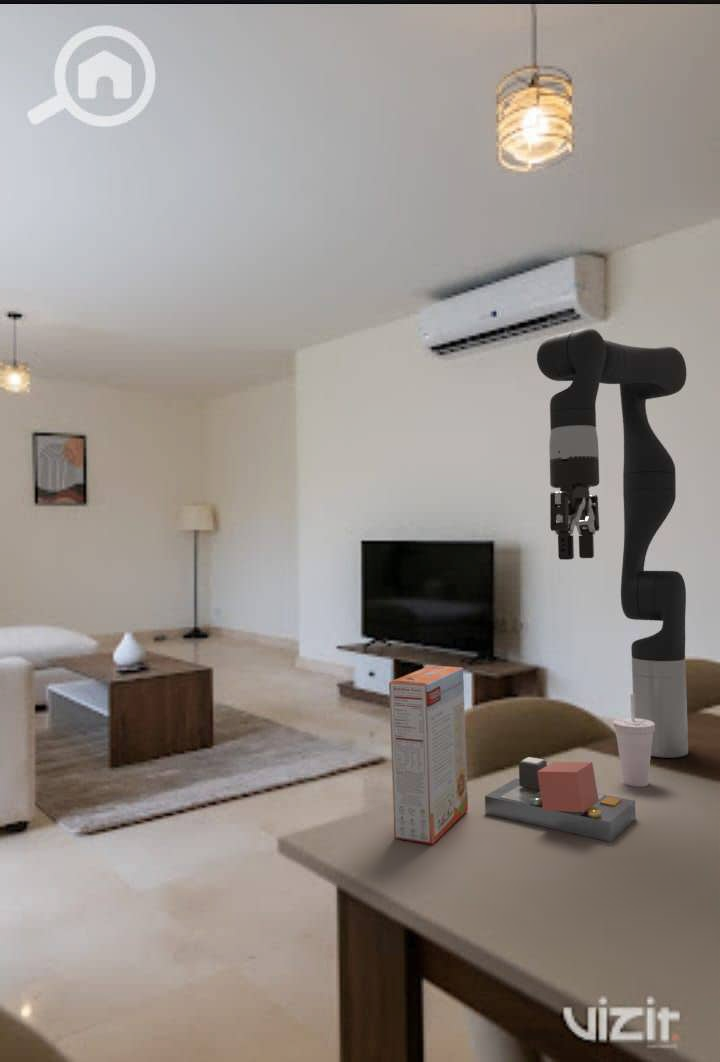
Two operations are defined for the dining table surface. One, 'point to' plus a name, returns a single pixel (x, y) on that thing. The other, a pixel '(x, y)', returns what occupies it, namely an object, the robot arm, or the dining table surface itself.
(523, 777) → the toggle
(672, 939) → the dining table surface
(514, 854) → the dining table surface
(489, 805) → the panel
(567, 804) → the salmon pink cube
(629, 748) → the smoothie
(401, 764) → the cracker box
